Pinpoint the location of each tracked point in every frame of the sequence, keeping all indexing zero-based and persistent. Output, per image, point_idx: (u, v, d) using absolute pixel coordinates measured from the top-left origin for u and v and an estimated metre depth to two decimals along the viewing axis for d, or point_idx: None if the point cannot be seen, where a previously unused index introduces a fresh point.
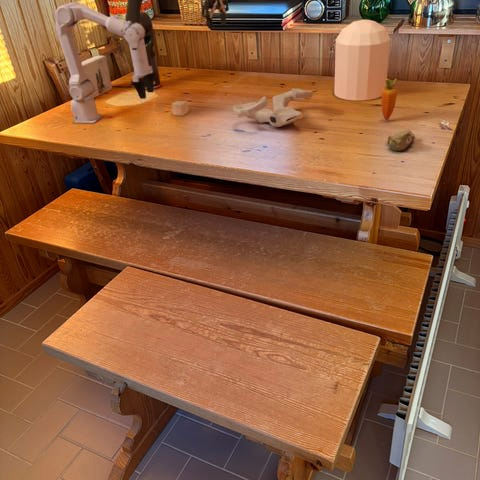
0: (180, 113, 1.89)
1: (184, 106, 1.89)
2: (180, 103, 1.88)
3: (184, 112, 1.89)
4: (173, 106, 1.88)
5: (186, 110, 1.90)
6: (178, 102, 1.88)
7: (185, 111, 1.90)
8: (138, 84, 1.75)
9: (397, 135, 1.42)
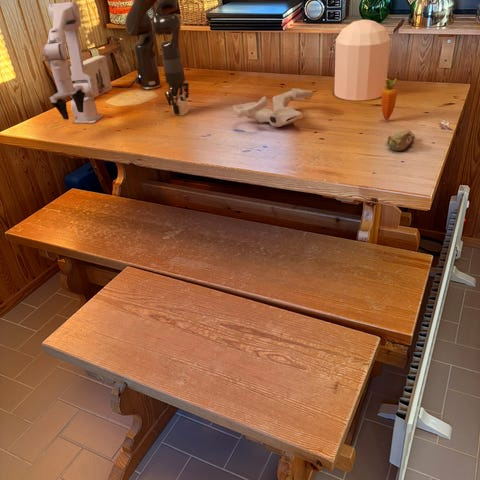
0: (180, 113, 1.89)
1: (184, 106, 1.89)
2: (180, 103, 1.88)
3: (184, 112, 1.89)
4: None
5: (186, 110, 1.90)
6: (178, 102, 1.88)
7: (185, 111, 1.90)
8: (59, 104, 1.68)
9: (397, 135, 1.42)
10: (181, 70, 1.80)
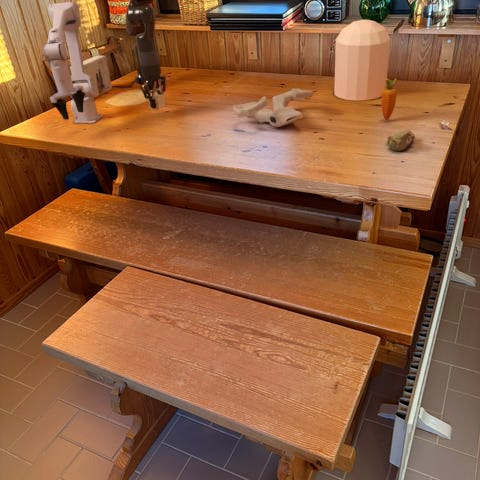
0: (156, 107, 1.85)
1: (161, 99, 1.86)
2: (157, 97, 1.84)
3: (161, 106, 1.86)
4: None
5: (163, 104, 1.87)
6: (155, 96, 1.85)
7: (162, 105, 1.87)
8: (59, 104, 1.68)
9: (397, 135, 1.42)
10: (157, 63, 1.76)
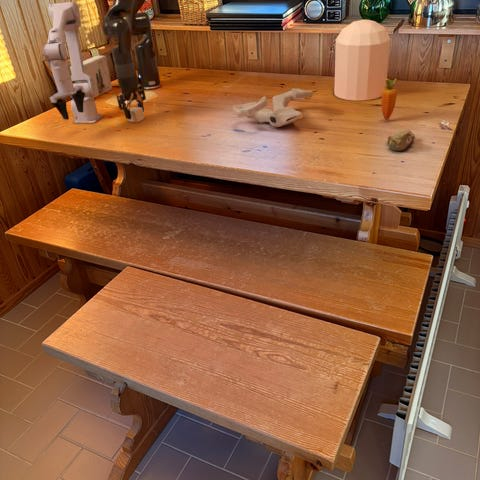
0: (135, 120, 1.87)
1: (139, 112, 1.87)
2: (135, 110, 1.86)
3: (139, 119, 1.87)
4: None
5: (142, 117, 1.88)
6: (133, 109, 1.86)
7: (140, 118, 1.88)
8: (59, 104, 1.68)
9: (397, 135, 1.42)
10: (133, 75, 1.77)
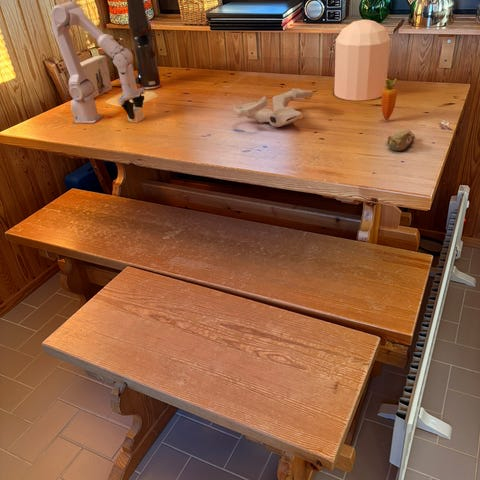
0: (135, 120, 1.87)
1: (140, 112, 1.87)
2: (135, 110, 1.86)
3: (139, 119, 1.87)
4: None
5: (142, 117, 1.88)
6: (133, 109, 1.86)
7: (140, 118, 1.88)
8: (127, 105, 1.83)
9: (397, 135, 1.42)
10: None
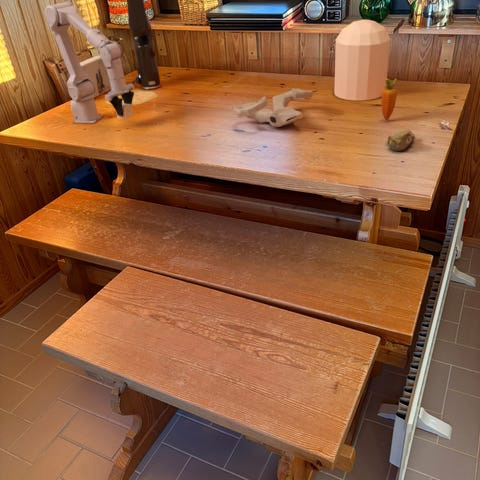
0: (124, 117, 1.79)
1: (129, 109, 1.79)
2: (124, 106, 1.78)
3: (129, 115, 1.79)
4: None
5: (131, 113, 1.80)
6: (122, 105, 1.78)
7: (130, 114, 1.80)
8: (115, 101, 1.75)
9: (397, 135, 1.42)
10: None
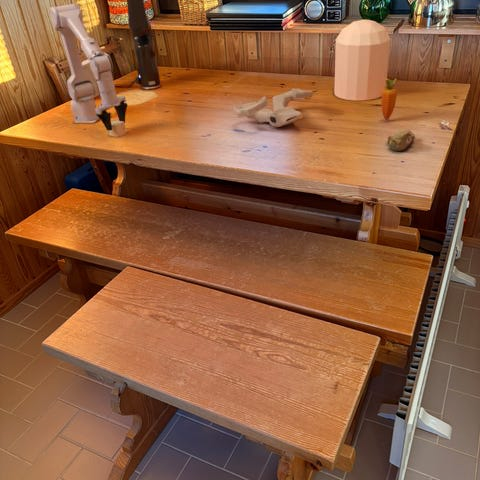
0: (116, 135, 1.75)
1: (121, 126, 1.75)
2: (116, 124, 1.74)
3: (121, 133, 1.76)
4: None
5: (123, 131, 1.76)
6: (114, 123, 1.74)
7: (122, 132, 1.76)
8: (103, 116, 1.70)
9: (397, 135, 1.42)
10: None
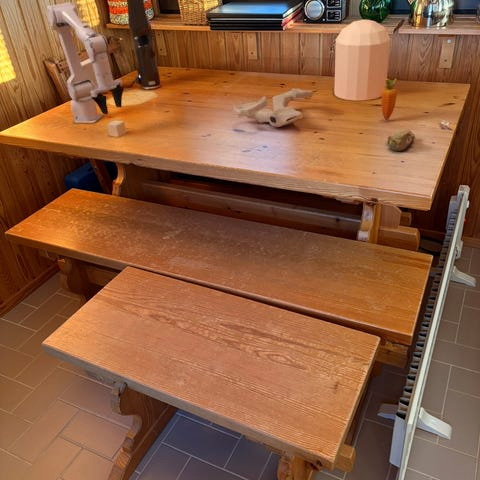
0: (116, 135, 1.75)
1: (121, 126, 1.75)
2: (116, 124, 1.74)
3: (121, 133, 1.76)
4: (109, 127, 1.74)
5: (123, 131, 1.76)
6: (114, 123, 1.74)
7: (122, 132, 1.76)
8: (99, 99, 1.66)
9: (397, 135, 1.42)
10: None
